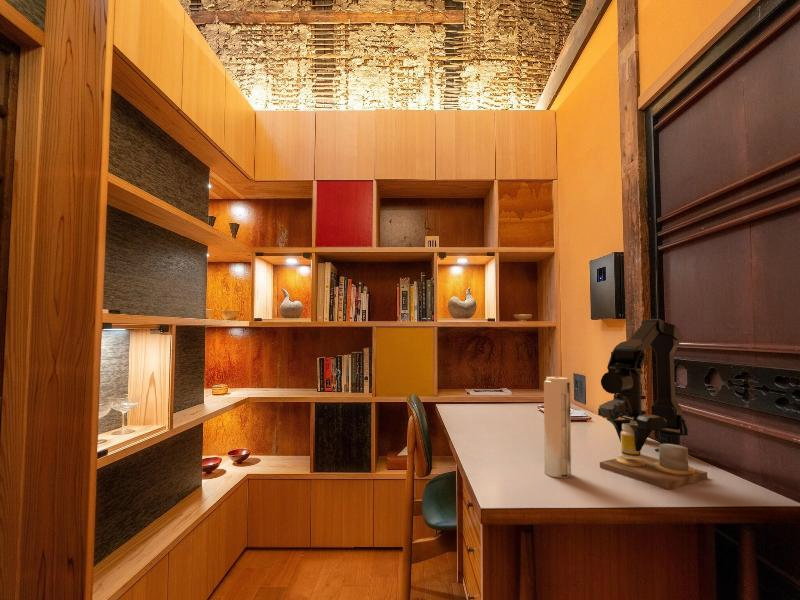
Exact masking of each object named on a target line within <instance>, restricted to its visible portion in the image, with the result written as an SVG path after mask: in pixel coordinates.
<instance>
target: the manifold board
mask: <svg viewBox="0 0 800 600" xmlns="http://www.w3.org/2000/svg"><path fill="white" fill-rule="evenodd" d="M658 448H659V451H658V457H659V458H656V457H652V456H649V455H645V454H642V453H641V456H640V458H629V457H625V456H623V455H621V456H616V458H611V459H608V460H601V461H599V468H600V469H604V470H607V471H609V472H612V473H615V474H619V475H622V476H625V477H627V478H630V479H635V480H637V481H640V482H643V483H646V484H650V485H653V486H655V487H659V488H661V489H665V490H673V489H676V488H678V487H683V486H685V485H688V484H692V483H696V482H698V481H702V480H706V479H708V471H705V470H701V469H697V468H694V467H692V466H690V465H689V449H688V448H687V447H686V446H683V445H682V446H679V445H674V444H660V443H659V444H658Z"/></svg>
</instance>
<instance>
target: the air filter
mask: <svg viewBox="0 0 800 600" xmlns="http://www.w3.org/2000/svg"><path fill="white" fill-rule="evenodd" d="M545 377H546V378H545V379H544V380H543V410H544V411H543V415H544V416H543V418H544V419H543V427H544V428H543V429H544V430H543V432H544V433H543V435H544V438H543V439H544V441H543V442H544V443H543V445H544V448H543V449H544V452H543V453H544V460H543V462H544V474H545V475H547V476H548V477H552V478H556V479H568V478H571V477H572V451H571V450H572V435H571V434H572V433H571V431H572V429H571V427H572V426H571V422H572V421H571V416H572V415H571V381H570V378H569V377H565V376H564V377H563V376H562V377H561V376H545Z"/></svg>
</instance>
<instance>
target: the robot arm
mask: <svg viewBox="0 0 800 600" xmlns="http://www.w3.org/2000/svg"><path fill="white" fill-rule="evenodd" d="M681 337H682V332H681V329H680V328H679V327H678V326H676V325H675V324H673V323H669V322H666V321H664V320H662V319H660V318H649V319H648V318H647V319H643V320H642V322H641V325H640V326H639V328H638V329H637V330H636V331H635V332H634V333H633V335H632V336H631V337H630V338H629V339H628V340H625V341H622V342H619V343H618V344H617V345H616V346H614V349H612V352H611V354H610V358H609V359H608V363H607V367H606V369H607V372H605V373H604V374H603V375H602V377H601V378H600V385H601V388H602V389H603V390H604V391H605V392H607V393H608V394H612V395H613V399H611V400H608V401H606V402H604V403H602V404H600V405H598V408H597V409H598V411H597V415H598V416H600V417H602V418H604V419H605V418H606V421H608V422H610V423H611V424H612V425H613V428H614V429H615V431H616V434H617V436H618V439H619V442H620V443H621V431H622V430H623V429H622V424H623V423H630V420H632V421H636V425H633V426H630V427H631V428H632V429H633V431H634V436H635V447H636V451H640V452H641V451H642V449H643V447H644V445H645V443H646V441H647V440H648V437H649V436H650V434H651V433H652V432H653V431H656V432H659V444H674V445H679V446H683V445H682V436H687V437H688V436H689V432H690V430H689V429H690V428H689V427H690V426H689V425H688V423H687V421H686V418H685V416H684V414H683V408H682V407H681V406H680V404H679V403H678V401H677V399H676V379H675V360H674V359H675V358H674V357H675V356H674V354H675V352H676V351H677V349H678V347H679V346H680V340H681ZM649 347H651V348H652V349H653V351H654V353H655V362H656V364H655V365H656V384H657V385H656V387H657V388H656V389H657V390H656V391H657V400H656V401H655V403H654V404H652V406H651V407H650V410H651V413H650V414H646V412H647V411H646V410H645V409H643V410H642V399H643V400H646V395H644V394H642V395H641V383H642V375H643V374H644V372H643V367H644V364H645V363H646V360H647V354H646V350H647V349H648V348H649ZM626 415H627V416H626ZM654 450H655V452H659V447H658V448H654Z"/></svg>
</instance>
